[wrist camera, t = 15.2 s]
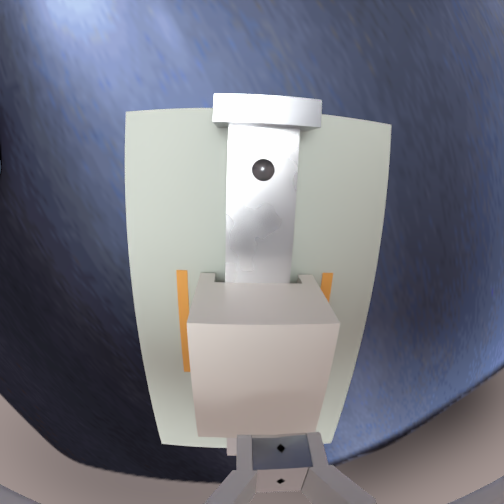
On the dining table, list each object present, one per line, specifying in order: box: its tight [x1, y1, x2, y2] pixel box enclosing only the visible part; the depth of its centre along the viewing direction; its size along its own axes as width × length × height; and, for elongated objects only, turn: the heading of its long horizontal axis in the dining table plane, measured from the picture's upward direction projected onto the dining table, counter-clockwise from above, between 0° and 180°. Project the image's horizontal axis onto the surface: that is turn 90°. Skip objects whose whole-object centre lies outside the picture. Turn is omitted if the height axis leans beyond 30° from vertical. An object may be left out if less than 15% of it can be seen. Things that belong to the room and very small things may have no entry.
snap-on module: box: [187, 273, 340, 438], centre depth 15 cm, size 6×7×5 cm
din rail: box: [213, 93, 322, 456], centre depth 17 cm, size 4×23×3 cm, turn 178°
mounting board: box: [125, 108, 391, 448], centre depth 19 cm, size 14×24×1 cm, turn 178°
